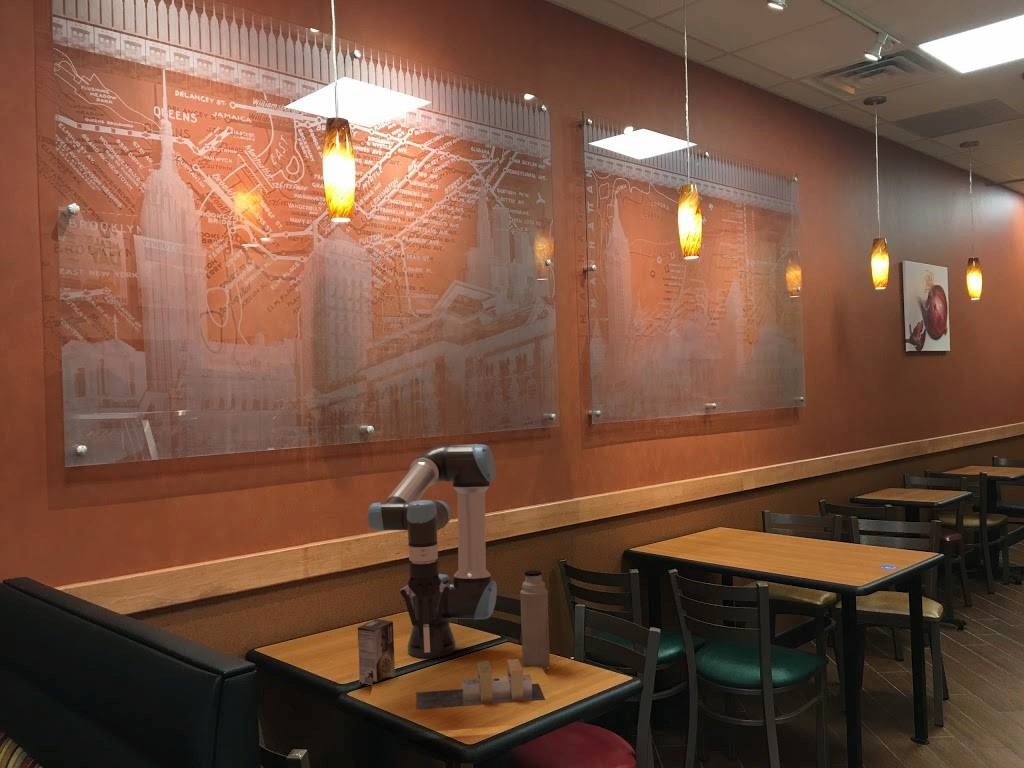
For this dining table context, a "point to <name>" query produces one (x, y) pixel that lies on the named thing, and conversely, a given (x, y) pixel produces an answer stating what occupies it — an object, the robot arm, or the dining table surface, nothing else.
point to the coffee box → (376, 651)
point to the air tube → (494, 687)
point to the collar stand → (481, 690)
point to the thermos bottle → (534, 621)
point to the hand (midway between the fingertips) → (427, 650)
